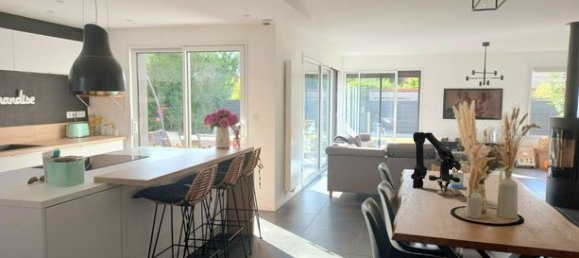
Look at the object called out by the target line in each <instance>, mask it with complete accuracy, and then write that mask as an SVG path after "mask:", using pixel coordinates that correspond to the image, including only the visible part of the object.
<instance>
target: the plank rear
mask: <svg viewBox="0 0 579 258" xmlns="http://www.w3.org/2000/svg"><path fill="white" fill-rule="evenodd" d="M436 182H437V181H436ZM436 184H437V185H438V186H439V187H440V184H439V182H437V183H436ZM450 188H451V187H449V186H448V187H447V189H446V191H450V192H451V190H450ZM442 189H443V190H444V189H445V184H443V183H442Z"/></svg>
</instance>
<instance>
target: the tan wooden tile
mask: <svg viewBox="0 0 579 258" xmlns="http://www.w3.org/2000/svg"><path fill="white" fill-rule="evenodd" d="M449 188H450V190H451V192H452V193H453V197H461V198H462V197H464V194H463V192H462V191H461V190H460V188H451V187H449Z"/></svg>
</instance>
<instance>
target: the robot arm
mask: <svg viewBox="0 0 579 258" xmlns="http://www.w3.org/2000/svg"><path fill="white" fill-rule="evenodd" d="M412 139H413V142H414V144H415V160H416V161H415V162H416V164H415V167H414V168H413V172H412V173H411V175H410V179H411V180H412V188H413V189H423V188H424V180H425V178H426V176H427V174H428V167H425V165H424V164H425V162H424V144H425V142H426V140H427V141H428V142H429V143H430V145H432V146H433V148H435V150H436V151H437V152H436V153H437V155H438V157H439V158H438V159H437V161H438V162H439V163H440V165H439V176H436V175H435V174H434V175H431V174H430V175H429V176H428V180H429V181H431V182H435V181H436V182H439V184H440V186H439V187H440V191H447V190H446V189H447V187H448V188H449V186H448V185H449V184H450V183H452V182H451V181H454V182H460V179H459V178H458V177H453V174H449V170H452V168H453V167H455V168H456V169H457V171H459V170H460V171H461V168H462V165H461V163H460V161H459V160H457V159H456V158H455V157H454V155H453V153H452V150H450V149H449V148H448V147H446V146H445V145H443V144H442V143H441V142H440V141H439V139H438V138H436V137H435V135H434V134H433V132H431V131H430V132H424V131H415V132H414V133H413V134H412ZM443 182H445V183H444V185H445V189H444V188H443V187H442V184H443Z"/></svg>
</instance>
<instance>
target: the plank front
mask: <svg viewBox="0 0 579 258" xmlns="http://www.w3.org/2000/svg"><path fill="white" fill-rule="evenodd" d="M436 193H437V194H438V195H441V196H449V197H450V196H451V197H454V195H453V193H452V192H450V191H447V190H446V191H444V190H442V191H441V190H438V189H437V190H436Z"/></svg>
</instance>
